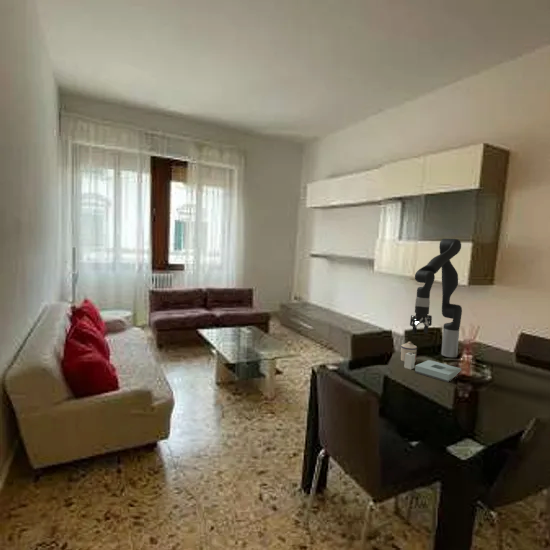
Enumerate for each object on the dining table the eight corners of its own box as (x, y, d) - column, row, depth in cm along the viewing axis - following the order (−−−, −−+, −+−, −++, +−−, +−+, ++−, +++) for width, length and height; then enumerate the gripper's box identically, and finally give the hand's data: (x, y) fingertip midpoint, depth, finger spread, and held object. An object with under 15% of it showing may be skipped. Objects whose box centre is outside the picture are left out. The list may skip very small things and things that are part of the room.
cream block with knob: (407, 366, 215) (408, 351, 214) (414, 368, 212) (415, 353, 211) (404, 367, 212) (405, 352, 212) (410, 369, 209) (411, 354, 209)
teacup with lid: (413, 364, 219) (414, 344, 218) (397, 360, 224) (399, 341, 223) (420, 359, 228) (421, 341, 227) (405, 356, 234) (406, 338, 232)
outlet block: (428, 366, 215) (428, 359, 215) (460, 375, 202) (461, 368, 202) (414, 372, 204) (415, 365, 204) (448, 382, 191) (448, 374, 191)
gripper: (426, 304, 220) (424, 331, 221) (408, 304, 214) (405, 332, 215) (436, 306, 213) (434, 334, 214) (418, 306, 207) (415, 335, 208)
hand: (420, 333), depth 214 cm, fingers open, 8 cm apart
